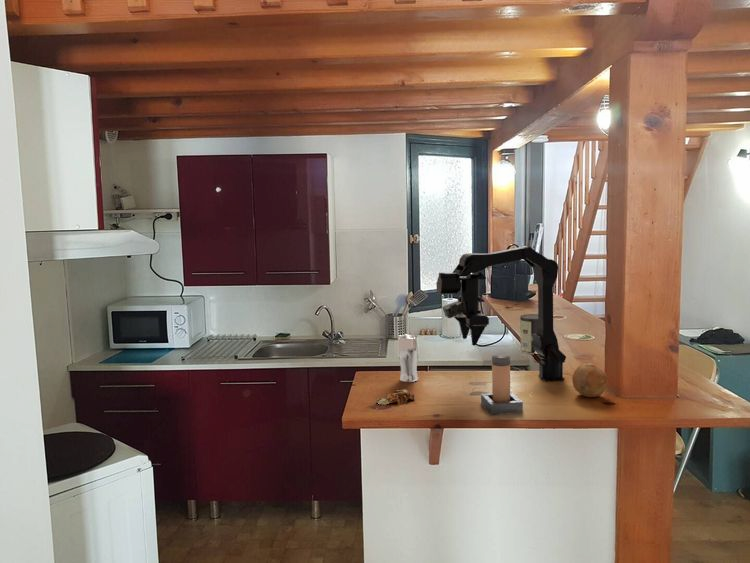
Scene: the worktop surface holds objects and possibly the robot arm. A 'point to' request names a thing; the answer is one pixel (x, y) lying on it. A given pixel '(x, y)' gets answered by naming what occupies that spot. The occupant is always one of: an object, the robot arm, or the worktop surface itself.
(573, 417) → the worktop surface
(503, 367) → the cylindrical peg
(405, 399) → the mottled brown lump
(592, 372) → the mottled tan ball
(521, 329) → the coffee can
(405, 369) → the beer glass
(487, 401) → the collar
